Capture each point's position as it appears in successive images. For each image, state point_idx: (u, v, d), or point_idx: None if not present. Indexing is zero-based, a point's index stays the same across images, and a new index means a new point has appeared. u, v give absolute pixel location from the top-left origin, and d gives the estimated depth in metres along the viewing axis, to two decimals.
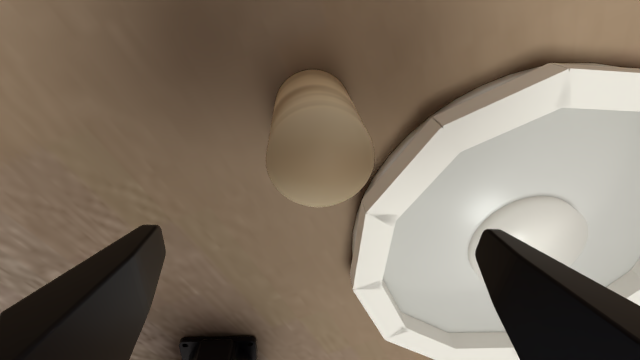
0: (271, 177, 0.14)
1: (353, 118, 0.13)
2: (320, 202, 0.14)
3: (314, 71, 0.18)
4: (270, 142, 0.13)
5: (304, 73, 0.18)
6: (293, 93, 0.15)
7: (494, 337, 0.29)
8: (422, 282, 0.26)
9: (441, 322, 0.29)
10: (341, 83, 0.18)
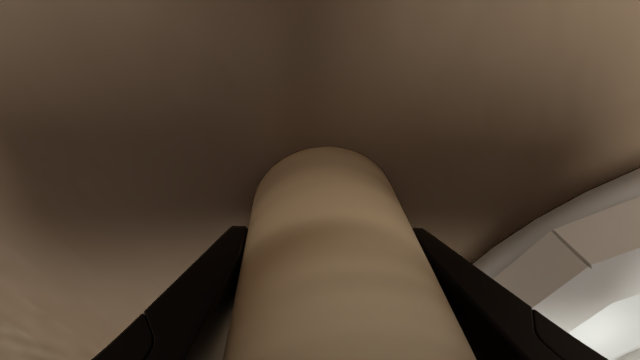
0: None
1: None
2: None
3: (329, 154, 0.09)
4: None
5: (309, 160, 0.09)
6: (284, 248, 0.06)
7: None
8: None
9: None
10: (381, 172, 0.09)
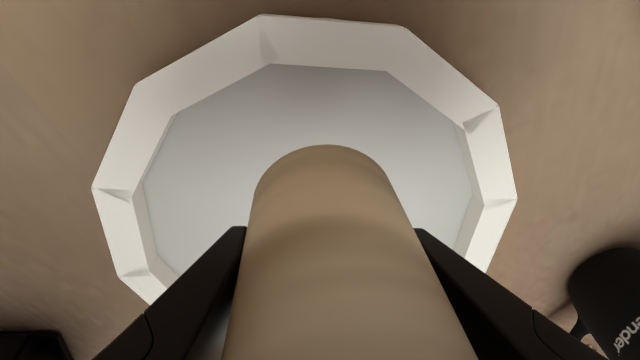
0: None
1: None
2: None
3: (329, 152, 0.09)
4: None
5: (308, 158, 0.09)
6: (283, 245, 0.06)
7: None
8: None
9: None
10: (381, 170, 0.09)
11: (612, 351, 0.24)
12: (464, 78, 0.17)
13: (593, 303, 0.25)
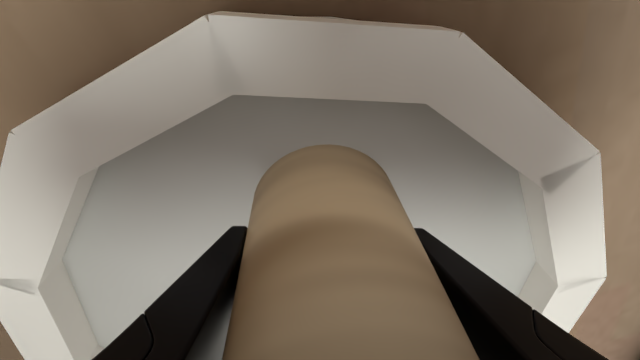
0: None
1: None
2: None
3: (329, 152, 0.09)
4: None
5: (309, 158, 0.09)
6: (284, 245, 0.06)
7: None
8: None
9: None
10: (382, 170, 0.09)
11: None
12: (551, 113, 0.10)
13: None
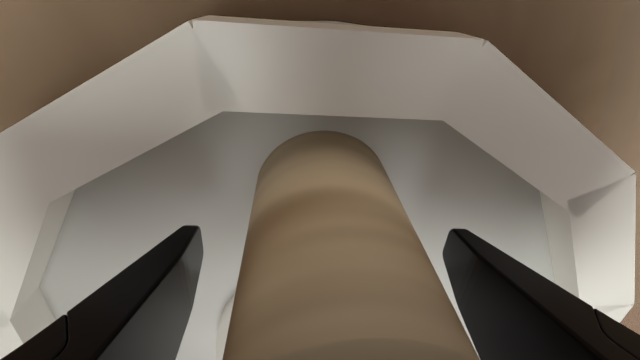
0: None
1: (451, 346, 0.04)
2: None
3: (326, 136, 0.10)
4: None
5: (308, 142, 0.10)
6: (285, 211, 0.07)
7: None
8: None
9: None
10: (374, 154, 0.10)
11: None
12: (584, 130, 0.09)
13: None
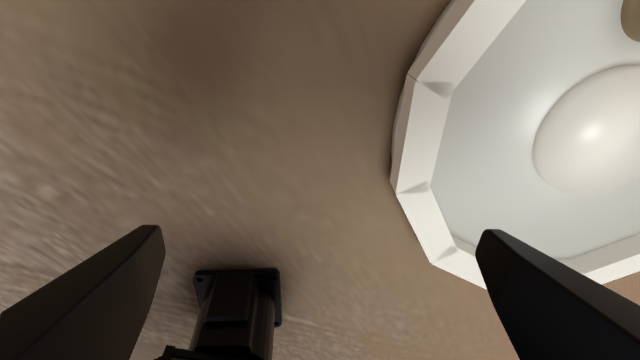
0: None
1: None
2: None
3: None
4: None
5: None
6: None
7: None
8: (475, 192, 0.22)
9: None
10: None
11: None
12: None
13: None
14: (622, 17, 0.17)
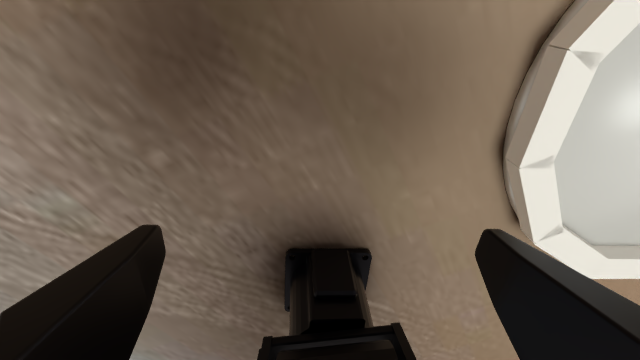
0: None
1: None
2: None
3: None
4: None
5: None
6: None
7: None
8: (584, 172, 0.22)
9: (588, 230, 0.25)
10: None
11: None
12: None
13: None
14: None
